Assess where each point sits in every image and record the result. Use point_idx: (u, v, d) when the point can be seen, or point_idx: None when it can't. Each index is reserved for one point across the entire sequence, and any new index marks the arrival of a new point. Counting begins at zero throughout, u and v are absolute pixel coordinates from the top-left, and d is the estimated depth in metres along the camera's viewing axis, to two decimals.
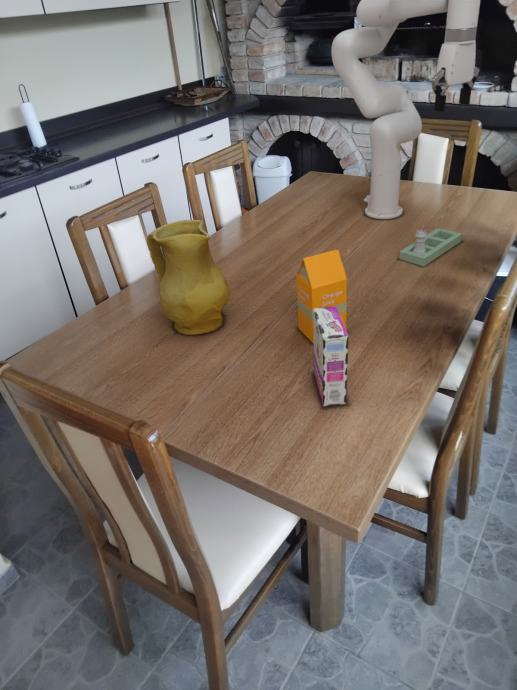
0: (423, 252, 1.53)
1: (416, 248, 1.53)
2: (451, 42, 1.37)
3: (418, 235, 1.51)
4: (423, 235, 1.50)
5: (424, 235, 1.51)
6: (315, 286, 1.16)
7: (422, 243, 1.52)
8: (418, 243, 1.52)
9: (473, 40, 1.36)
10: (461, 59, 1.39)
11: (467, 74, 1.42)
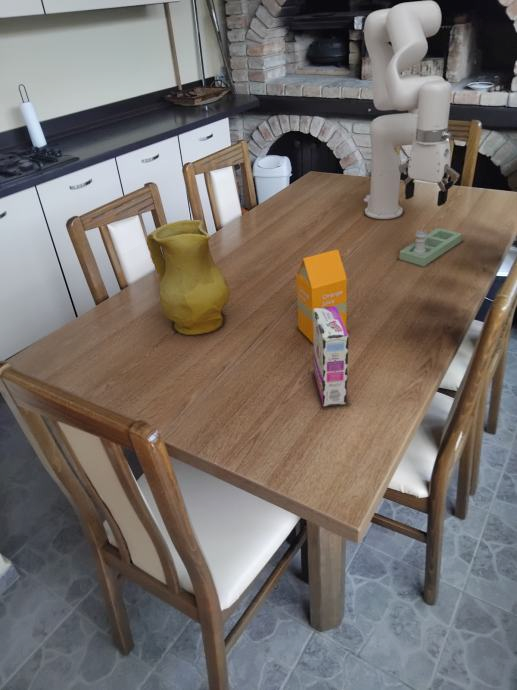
0: (423, 252, 1.53)
1: (416, 248, 1.53)
2: None
3: (418, 235, 1.51)
4: (423, 235, 1.50)
5: (424, 235, 1.51)
6: (315, 286, 1.16)
7: (422, 243, 1.52)
8: (418, 243, 1.52)
9: (426, 142, 1.35)
10: (419, 157, 1.39)
11: (429, 174, 1.39)
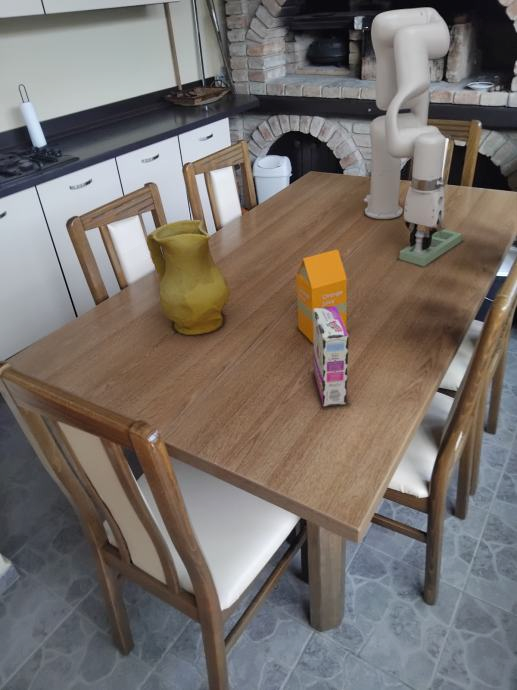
0: (423, 252, 1.53)
1: (416, 248, 1.53)
2: None
3: (418, 235, 1.51)
4: (423, 235, 1.50)
5: (424, 235, 1.51)
6: (315, 286, 1.16)
7: (422, 243, 1.52)
8: (418, 243, 1.52)
9: (421, 191, 1.41)
10: (414, 203, 1.46)
11: (424, 219, 1.46)
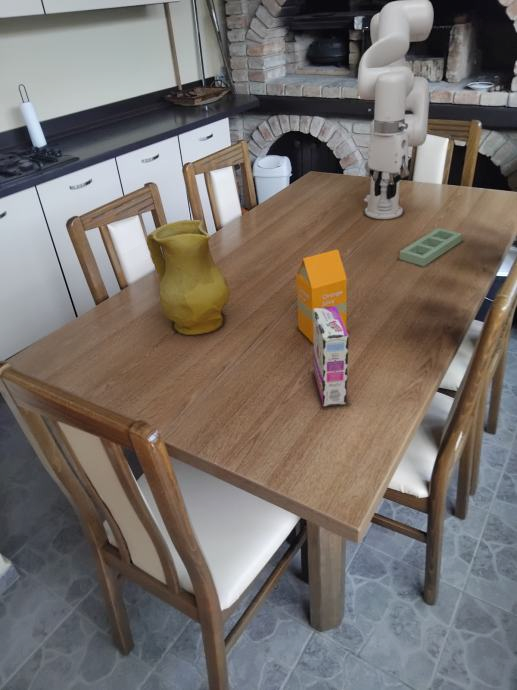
0: (389, 202, 1.48)
1: (381, 198, 1.48)
2: None
3: (382, 183, 1.46)
4: (387, 183, 1.45)
5: (388, 183, 1.45)
6: (315, 286, 1.16)
7: None
8: (383, 192, 1.47)
9: (383, 133, 1.36)
10: (377, 148, 1.40)
11: (388, 165, 1.41)
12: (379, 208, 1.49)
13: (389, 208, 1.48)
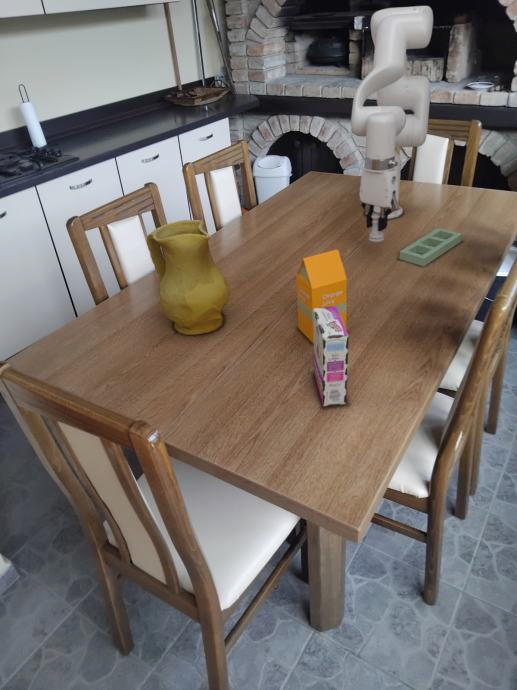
0: (380, 234, 1.53)
1: (373, 230, 1.53)
2: None
3: (374, 216, 1.51)
4: (379, 216, 1.51)
5: (380, 216, 1.51)
6: (315, 286, 1.16)
7: None
8: (374, 224, 1.52)
9: (373, 170, 1.42)
10: (368, 183, 1.46)
11: (378, 199, 1.46)
12: (371, 239, 1.55)
13: (380, 239, 1.54)
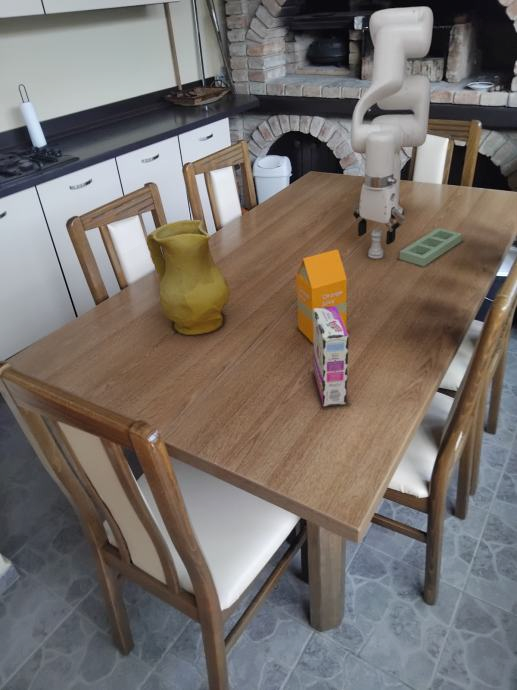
0: (379, 251, 1.56)
1: (372, 247, 1.56)
2: None
3: (373, 234, 1.54)
4: (378, 234, 1.53)
5: (379, 234, 1.54)
6: (315, 286, 1.16)
7: (378, 242, 1.55)
8: (374, 242, 1.55)
9: (373, 187, 1.44)
10: (368, 199, 1.49)
11: (378, 215, 1.49)
12: (370, 256, 1.58)
13: (379, 256, 1.57)
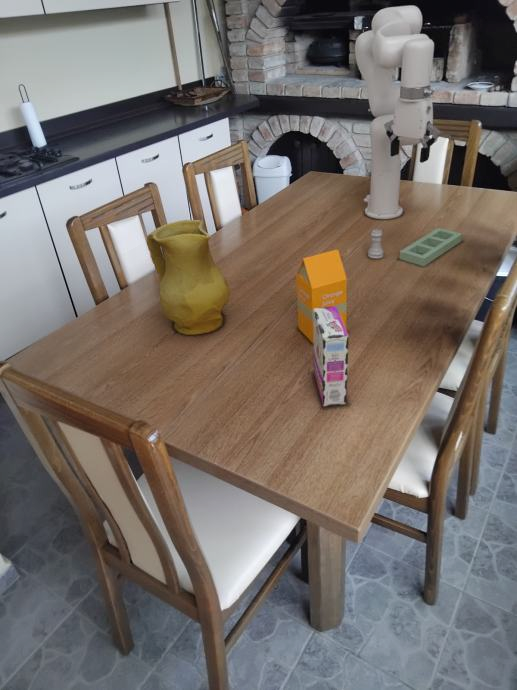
0: (379, 251, 1.56)
1: (372, 247, 1.56)
2: None
3: (373, 234, 1.54)
4: (378, 234, 1.53)
5: (379, 234, 1.54)
6: (315, 286, 1.16)
7: (378, 242, 1.55)
8: (374, 242, 1.55)
9: (408, 99, 1.40)
10: (403, 114, 1.45)
11: (412, 131, 1.45)
12: (370, 256, 1.58)
13: (379, 256, 1.57)
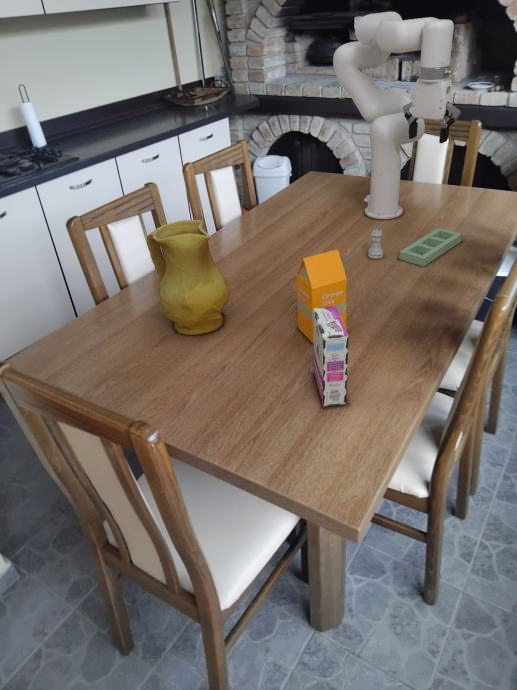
0: (379, 251, 1.56)
1: (372, 247, 1.56)
2: None
3: (373, 234, 1.54)
4: (378, 234, 1.53)
5: (379, 234, 1.54)
6: (315, 286, 1.16)
7: (378, 242, 1.55)
8: (374, 242, 1.55)
9: (429, 80, 1.42)
10: (422, 95, 1.46)
11: (432, 112, 1.47)
12: (370, 256, 1.58)
13: (379, 256, 1.57)
